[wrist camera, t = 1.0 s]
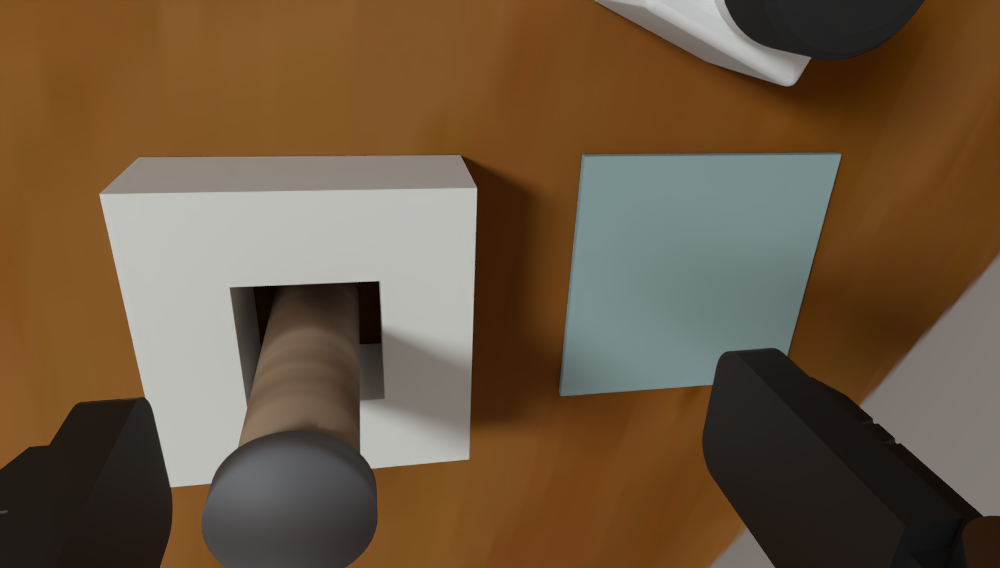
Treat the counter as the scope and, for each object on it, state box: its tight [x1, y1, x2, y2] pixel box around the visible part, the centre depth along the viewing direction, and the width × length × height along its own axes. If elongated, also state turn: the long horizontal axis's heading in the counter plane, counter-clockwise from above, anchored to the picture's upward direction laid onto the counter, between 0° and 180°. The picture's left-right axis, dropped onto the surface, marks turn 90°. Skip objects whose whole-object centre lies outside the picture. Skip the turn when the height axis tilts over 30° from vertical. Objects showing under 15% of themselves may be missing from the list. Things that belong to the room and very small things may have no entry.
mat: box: [559, 153, 841, 396], centre depth 37 cm, size 14×14×1 cm
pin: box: [202, 282, 377, 568], centre depth 27 cm, size 5×5×15 cm
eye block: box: [100, 155, 477, 487], centre depth 31 cm, size 14×14×5 cm
